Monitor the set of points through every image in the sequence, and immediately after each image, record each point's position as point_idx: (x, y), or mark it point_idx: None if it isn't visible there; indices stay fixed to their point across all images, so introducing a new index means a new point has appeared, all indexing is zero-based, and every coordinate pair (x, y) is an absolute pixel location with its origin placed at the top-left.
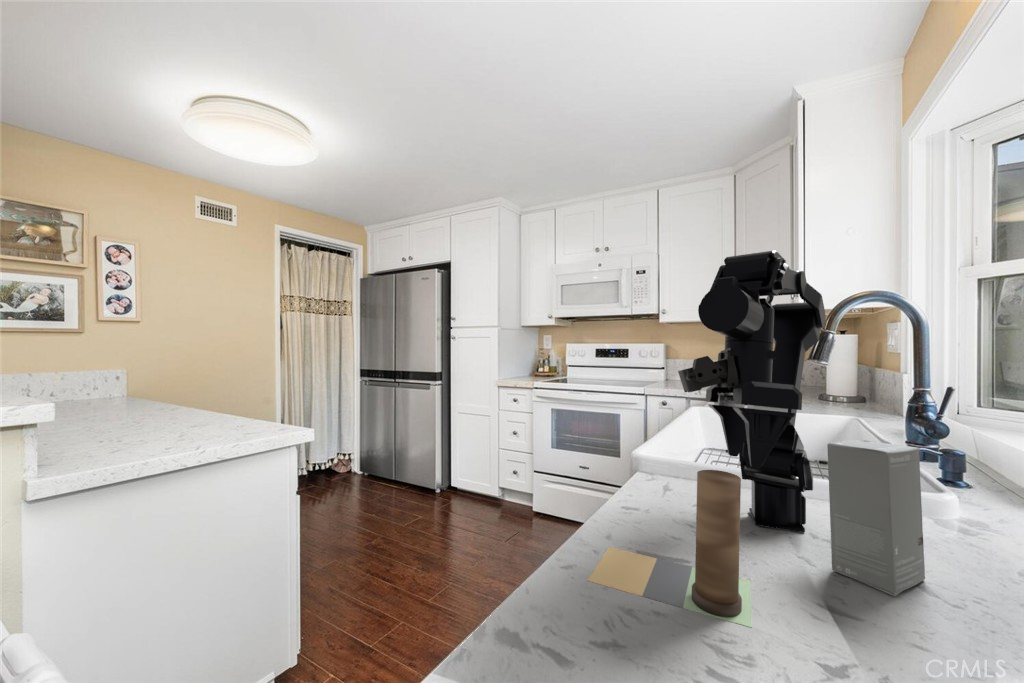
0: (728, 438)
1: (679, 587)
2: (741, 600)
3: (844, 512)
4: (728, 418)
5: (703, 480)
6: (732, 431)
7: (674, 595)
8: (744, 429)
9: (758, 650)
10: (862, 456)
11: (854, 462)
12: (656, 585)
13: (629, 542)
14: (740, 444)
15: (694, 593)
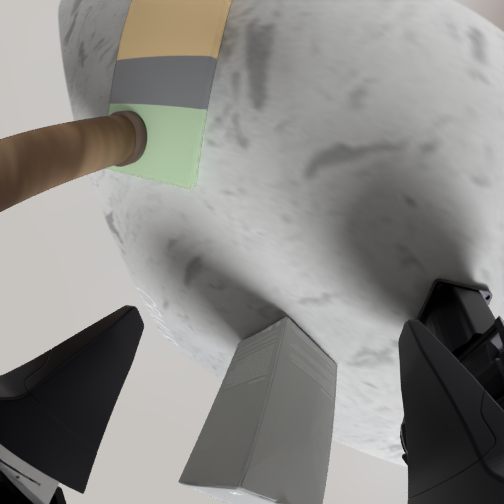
0: (431, 376)
1: (141, 95)
2: (115, 165)
3: (252, 387)
4: (461, 477)
5: None
6: (434, 422)
7: (126, 91)
8: (415, 459)
9: (106, 169)
10: (199, 473)
11: (212, 462)
12: (138, 68)
13: (302, 12)
14: (404, 390)
15: (110, 115)
